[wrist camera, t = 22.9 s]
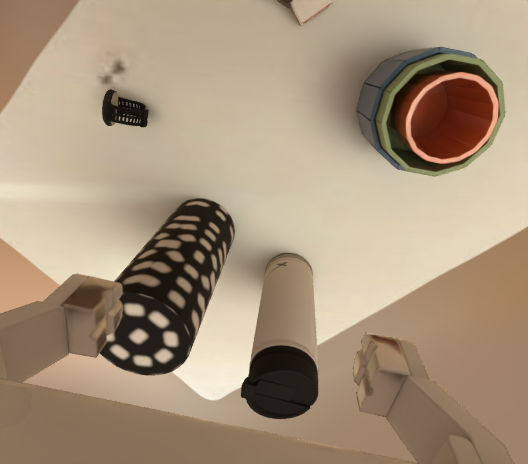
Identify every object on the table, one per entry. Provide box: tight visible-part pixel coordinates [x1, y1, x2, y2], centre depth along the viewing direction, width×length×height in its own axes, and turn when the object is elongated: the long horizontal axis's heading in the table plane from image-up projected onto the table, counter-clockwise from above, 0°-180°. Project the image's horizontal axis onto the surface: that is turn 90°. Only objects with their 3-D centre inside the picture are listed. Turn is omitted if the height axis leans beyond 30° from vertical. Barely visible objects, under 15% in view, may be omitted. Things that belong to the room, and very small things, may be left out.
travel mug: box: [241, 254, 318, 419], centre depth 38 cm, size 6×7×20 cm
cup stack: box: [357, 47, 505, 176], centre depth 32 cm, size 10×10×10 cm
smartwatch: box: [102, 89, 148, 127], centre depth 38 cm, size 4×5×5 cm
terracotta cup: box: [386, 70, 499, 164], centre depth 31 cm, size 6×6×10 cm
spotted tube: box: [100, 199, 235, 375], centre depth 36 cm, size 8×8×20 cm
